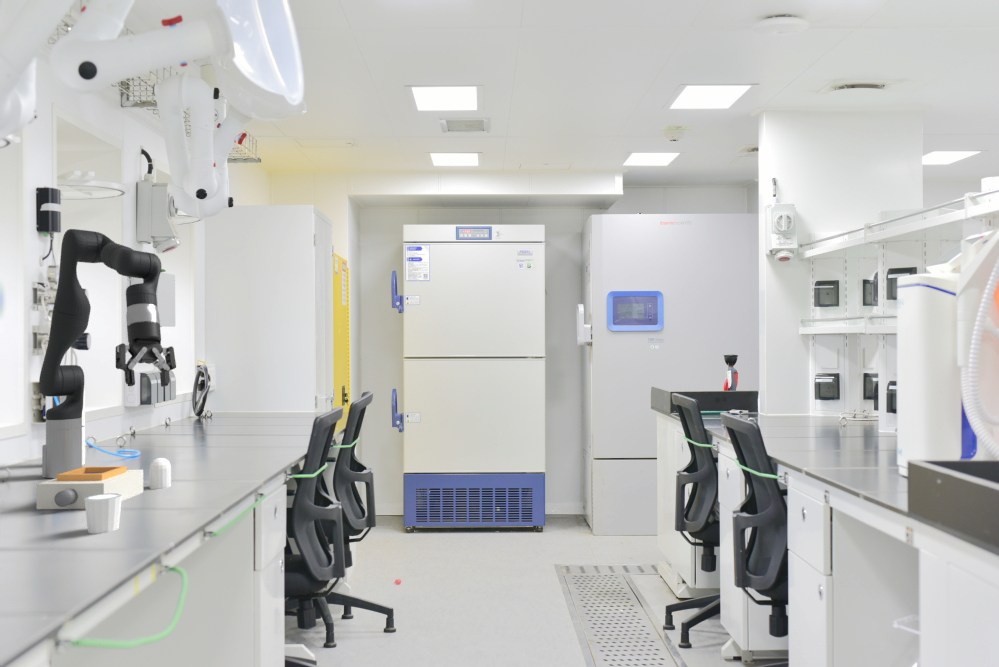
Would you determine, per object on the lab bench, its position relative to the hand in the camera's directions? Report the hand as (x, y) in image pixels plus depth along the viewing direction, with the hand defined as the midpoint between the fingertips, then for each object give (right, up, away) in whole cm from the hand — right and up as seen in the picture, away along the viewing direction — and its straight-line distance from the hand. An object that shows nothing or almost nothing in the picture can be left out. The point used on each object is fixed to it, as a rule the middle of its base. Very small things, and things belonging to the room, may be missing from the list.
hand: (148, 385), depth 172 cm
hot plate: (-14, -29, -2) cm, 32 cm away
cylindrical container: (-53, -30, +54) cm, 81 cm away
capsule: (-5, -29, +16) cm, 33 cm away
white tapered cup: (+5, -28, -28) cm, 40 cm away
